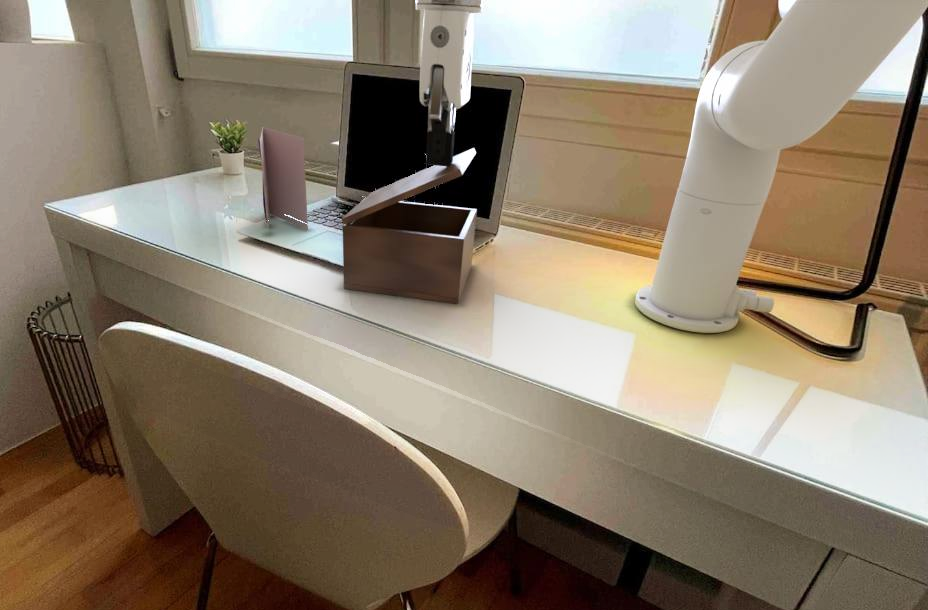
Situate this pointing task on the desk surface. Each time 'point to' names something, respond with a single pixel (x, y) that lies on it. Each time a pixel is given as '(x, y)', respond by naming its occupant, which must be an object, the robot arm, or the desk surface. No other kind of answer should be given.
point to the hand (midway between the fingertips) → (439, 163)
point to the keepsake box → (410, 251)
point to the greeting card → (283, 177)
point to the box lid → (410, 186)
